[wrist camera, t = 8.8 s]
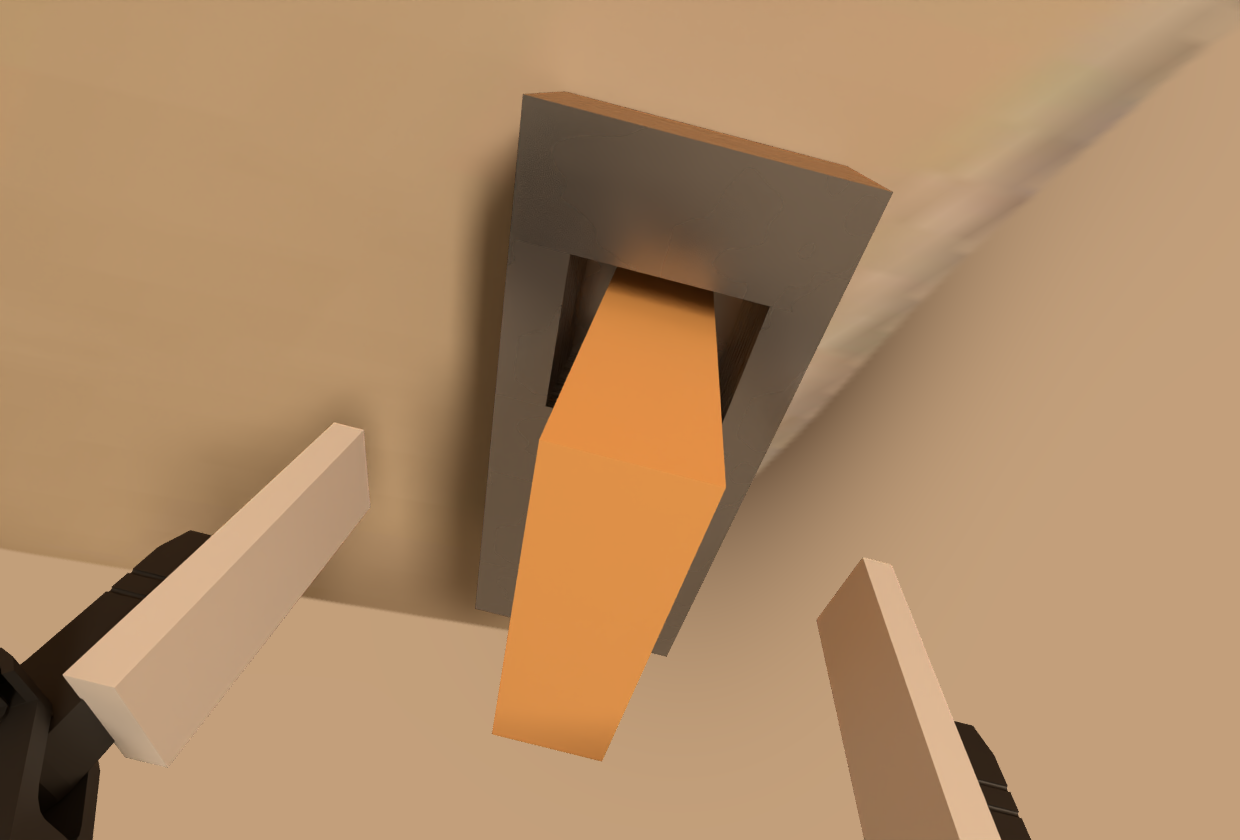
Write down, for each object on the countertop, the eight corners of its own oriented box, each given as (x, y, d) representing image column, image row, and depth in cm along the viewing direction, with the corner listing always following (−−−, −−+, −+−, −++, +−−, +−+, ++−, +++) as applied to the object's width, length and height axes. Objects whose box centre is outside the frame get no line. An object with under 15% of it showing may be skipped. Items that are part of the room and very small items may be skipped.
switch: (506, 536, 24) (475, 608, 21) (564, 91, 14) (523, 93, 11) (671, 577, 24) (666, 656, 21) (847, 166, 14) (892, 192, 11)
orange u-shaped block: (568, 495, 21) (491, 734, 14) (619, 261, 16) (539, 439, 8) (637, 512, 21) (601, 761, 14) (713, 286, 16) (725, 487, 8)
